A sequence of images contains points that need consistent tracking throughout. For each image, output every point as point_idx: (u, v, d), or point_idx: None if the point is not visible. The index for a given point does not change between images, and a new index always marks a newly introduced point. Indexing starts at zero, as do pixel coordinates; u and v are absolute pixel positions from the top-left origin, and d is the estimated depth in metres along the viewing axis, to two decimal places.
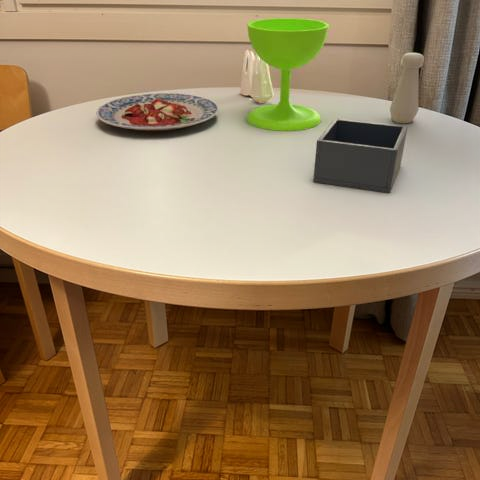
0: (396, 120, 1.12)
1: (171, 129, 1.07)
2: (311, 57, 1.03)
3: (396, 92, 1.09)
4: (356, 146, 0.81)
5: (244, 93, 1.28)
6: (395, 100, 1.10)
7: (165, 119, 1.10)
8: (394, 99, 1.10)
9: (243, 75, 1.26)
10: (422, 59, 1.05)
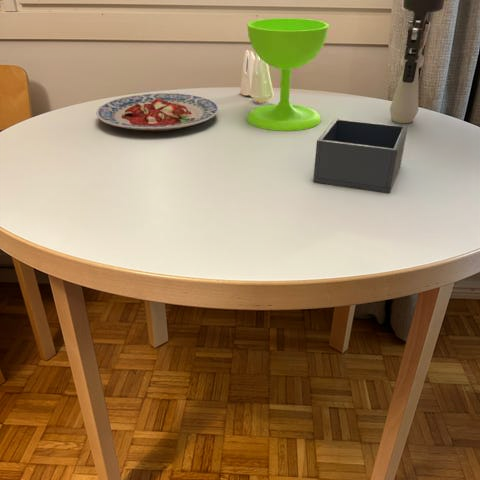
0: (396, 120, 1.12)
1: (171, 129, 1.07)
2: (311, 57, 1.03)
3: (396, 92, 1.09)
4: (356, 146, 0.81)
5: (244, 93, 1.28)
6: (395, 100, 1.10)
7: (165, 119, 1.10)
8: (394, 99, 1.10)
9: (243, 75, 1.26)
10: (422, 59, 1.05)
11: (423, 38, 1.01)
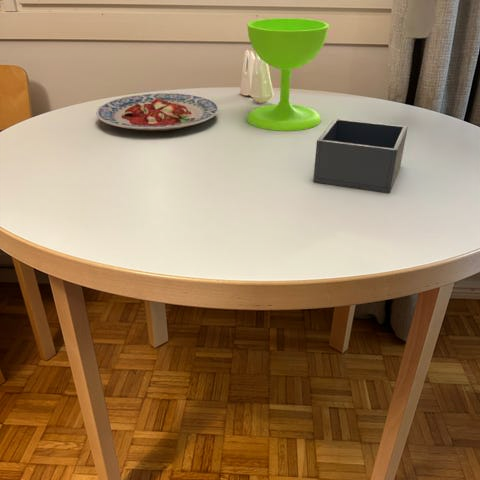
0: (410, 35, 1.00)
1: (171, 129, 1.07)
2: (311, 57, 1.03)
3: (410, 2, 0.98)
4: (356, 146, 0.81)
5: (244, 93, 1.28)
6: (409, 11, 0.99)
7: (165, 119, 1.10)
8: (408, 10, 0.99)
9: (243, 75, 1.26)
10: None
11: None
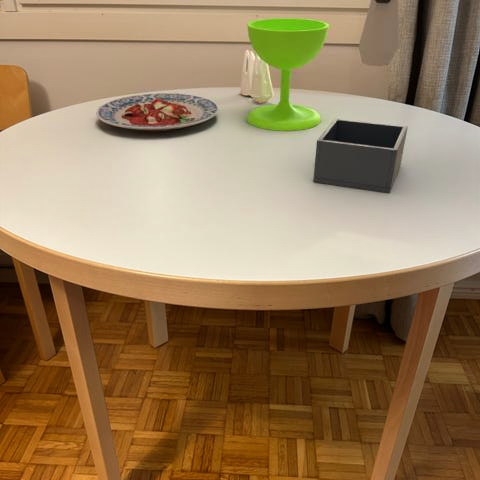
0: (367, 62, 0.79)
1: (171, 129, 1.07)
2: (311, 57, 1.03)
3: (367, 20, 0.77)
4: (356, 146, 0.81)
5: (244, 93, 1.28)
6: (365, 32, 0.78)
7: (165, 119, 1.10)
8: (364, 31, 0.78)
9: (243, 75, 1.26)
10: None
11: None
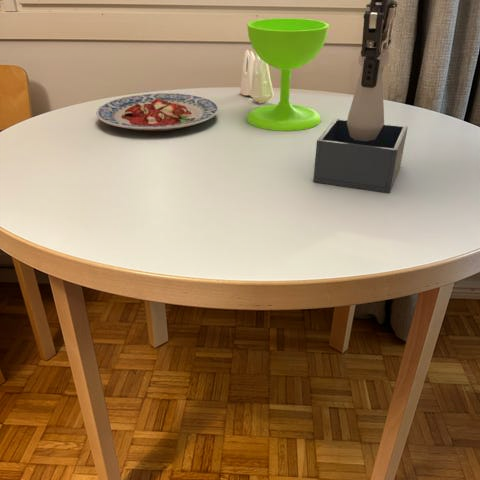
0: (355, 137, 0.84)
1: (171, 129, 1.07)
2: (311, 57, 1.03)
3: (354, 100, 0.82)
4: (356, 146, 0.81)
5: (244, 93, 1.28)
6: (352, 111, 0.82)
7: (165, 119, 1.10)
8: (351, 109, 0.83)
9: (243, 75, 1.26)
10: (386, 56, 0.77)
11: (387, 27, 0.74)
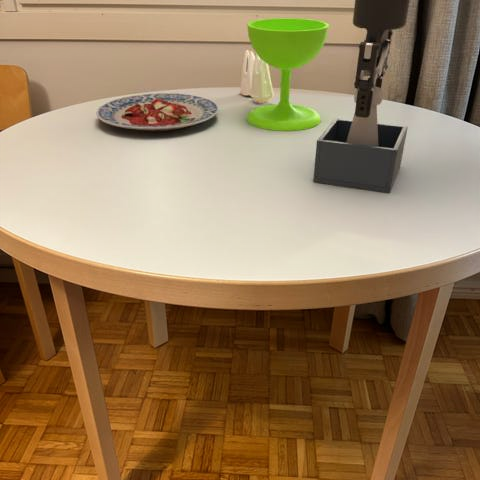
0: None
1: (171, 129, 1.07)
2: (311, 57, 1.03)
3: (349, 135, 0.85)
4: (356, 146, 0.81)
5: (244, 93, 1.28)
6: None
7: (165, 119, 1.10)
8: None
9: (243, 75, 1.26)
10: (380, 94, 0.80)
11: (380, 61, 0.76)
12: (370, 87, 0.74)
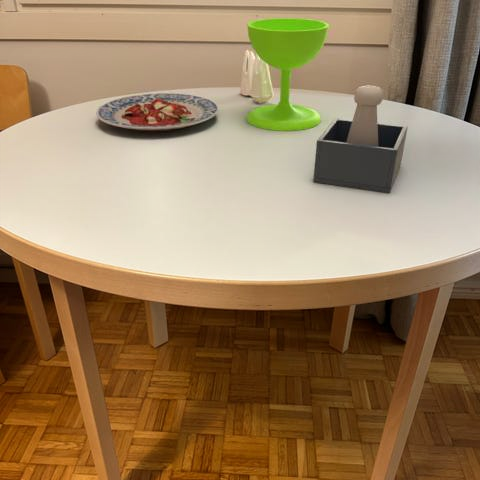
0: None
1: (171, 129, 1.07)
2: (311, 57, 1.03)
3: (349, 135, 0.85)
4: (356, 146, 0.81)
5: (244, 93, 1.28)
6: None
7: (165, 119, 1.10)
8: None
9: (243, 75, 1.26)
10: (380, 94, 0.80)
11: None
12: None
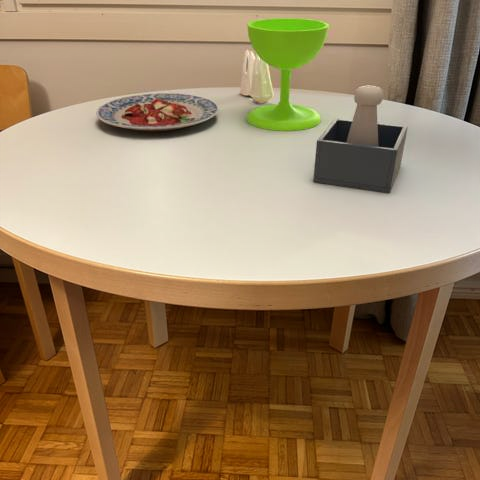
0: None
1: (171, 129, 1.07)
2: (311, 57, 1.03)
3: (349, 135, 0.85)
4: (356, 146, 0.81)
5: (244, 93, 1.28)
6: None
7: (165, 119, 1.10)
8: None
9: (243, 75, 1.26)
10: (380, 94, 0.80)
11: None
12: None
